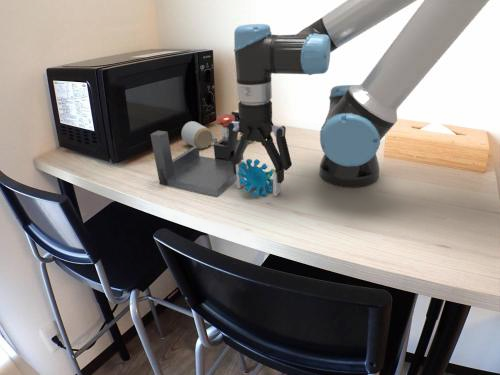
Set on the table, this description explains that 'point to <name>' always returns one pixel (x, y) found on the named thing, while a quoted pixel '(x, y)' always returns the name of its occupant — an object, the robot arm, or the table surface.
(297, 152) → the table surface
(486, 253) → the table surface
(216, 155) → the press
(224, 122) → the plunger
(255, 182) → the blue lobed star wheel
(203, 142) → the ceramic mug
